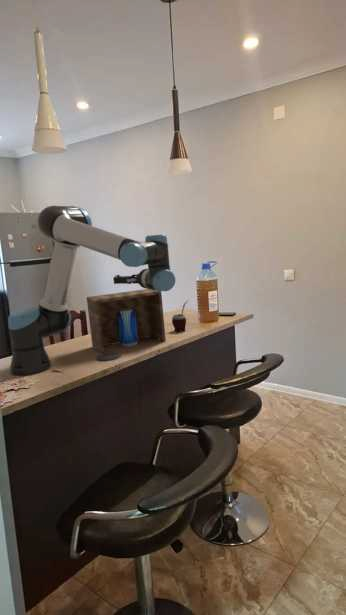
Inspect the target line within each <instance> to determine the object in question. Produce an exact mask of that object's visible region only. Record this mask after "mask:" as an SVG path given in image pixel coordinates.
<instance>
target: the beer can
mask: <svg viewBox="0 0 346 615" xmlns="http://www.w3.org/2000/svg"><path fill="white" fill-rule="evenodd" d="M117 321H118V330H119V339H120V342H119V344H121V346H123V347H132V346H135V345H136V346H137V344H138V342H139V339H138V333H137V323H136V314H135V312H134V311H133V309H122V310H119V313H118V315H117Z"/></svg>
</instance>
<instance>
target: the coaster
mask: <svg viewBox="0 0 346 615" xmlns="http://www.w3.org/2000/svg"><path fill="white" fill-rule="evenodd" d="M121 355H122V354H121V353H119V352H106V353H102V354H101V353H100V354H99V355H97V356H96V357H95V358H96V360H97V361H99V362H109V361H108V360H110V361H114V359H115V360H117V358H118V359H119V357H120V358H121Z"/></svg>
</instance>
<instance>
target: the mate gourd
mask: <svg viewBox="0 0 346 615" xmlns="http://www.w3.org/2000/svg"><path fill="white" fill-rule="evenodd" d="M188 302H189V300H188V299H187V300H186V301H185V302H184V303H183V305H182V311H181V313H180V314H174V315H173V316H172V318H171V323H172V326H173V327H174V330H173V331H176V333H180V332H186V324H187V318H186V316H185V315H184V314H183V313H184V310H185V307H186V304H187V303H188Z"/></svg>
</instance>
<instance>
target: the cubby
mask: <svg viewBox="0 0 346 615" xmlns="http://www.w3.org/2000/svg"><path fill="white" fill-rule="evenodd" d="M162 297H163V296H162V291H157V290H155V291H153V290H152V289H146V288H143V289H136V290H130V291H122V292H115V293H107V294H100V295H93V296H86V305H87V310H88V312H87V313H88V319H89V320H88V322H89V327H90V328H89V329H90V338H91V344H92V346H91V347H92V348H93V347H94V348H93V349H94V350H96V351H97V352H98V353H99V354H100V355H101V354H105V353H104V346H106V345H107V344H108V345H112V343H114V344H118V342H119V343H120V339H119V330H118V321H117V315H118V313H119V310H122V309H133V311H134V312H135V314H136V323H137V333H138V340H139V339H145V338H151V337H152V338H155V339H157V340H159V341H161V342H163V343H165V342H166V340H167V338H166V330H165V319H164V308H163V306H164V305H163V298H162Z"/></svg>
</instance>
